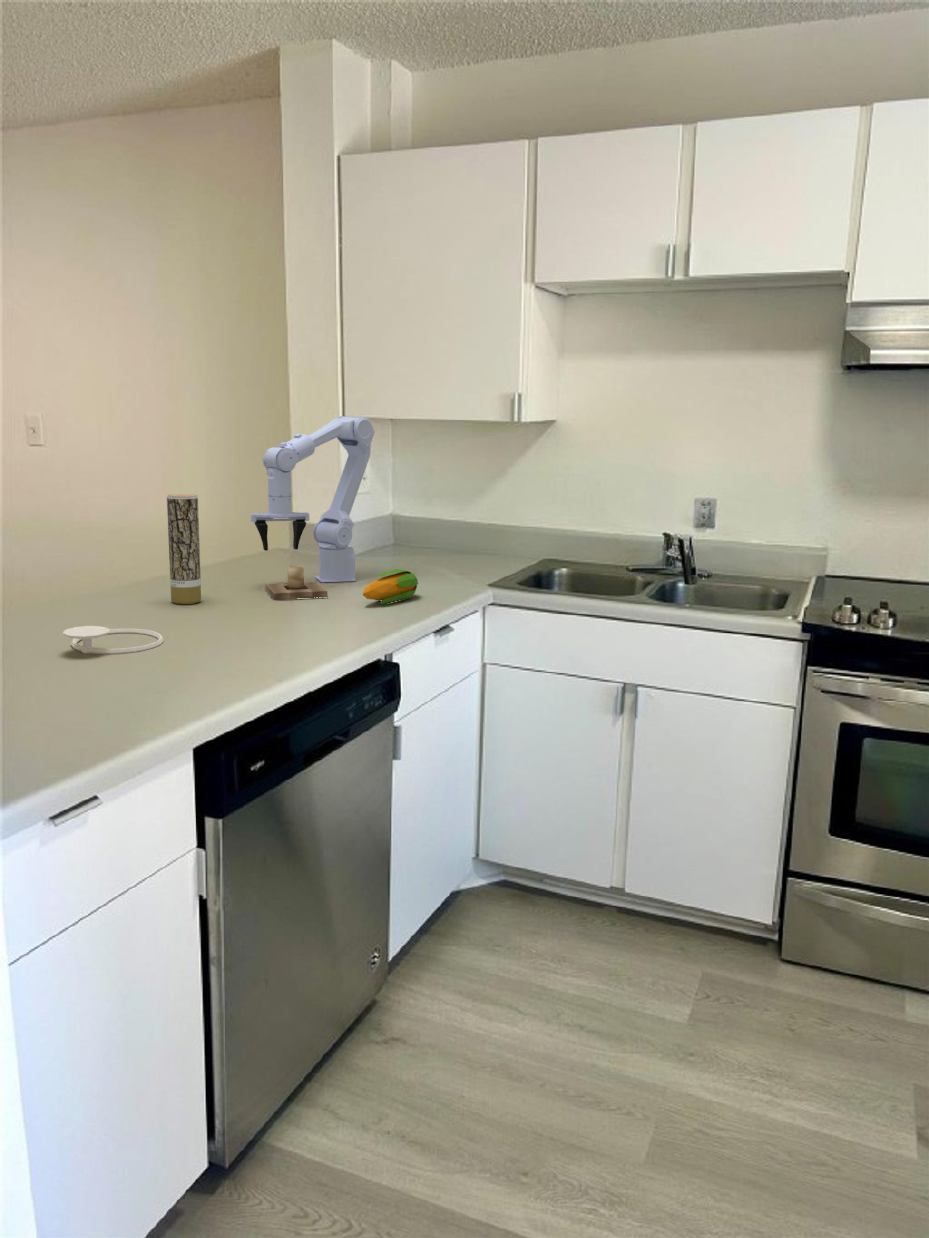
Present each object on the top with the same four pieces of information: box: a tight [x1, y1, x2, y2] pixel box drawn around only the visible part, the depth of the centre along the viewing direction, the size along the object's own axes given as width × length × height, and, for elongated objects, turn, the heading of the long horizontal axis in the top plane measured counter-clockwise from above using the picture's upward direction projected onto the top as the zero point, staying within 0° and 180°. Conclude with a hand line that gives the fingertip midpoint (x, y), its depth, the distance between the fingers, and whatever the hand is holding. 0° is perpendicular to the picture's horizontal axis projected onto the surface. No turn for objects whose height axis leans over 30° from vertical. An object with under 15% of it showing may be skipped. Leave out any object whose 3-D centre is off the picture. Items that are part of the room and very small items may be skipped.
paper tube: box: [166, 493, 202, 605], centre depth 212 cm, size 7×7×25 cm
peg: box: [286, 564, 305, 590], centre depth 227 cm, size 4×4×7 cm
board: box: [264, 581, 328, 601], centre depth 227 cm, size 13×12×2 cm
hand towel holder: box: [62, 625, 165, 655], centre depth 176 cm, size 17×4×21 cm
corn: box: [362, 568, 419, 605], centre depth 223 cm, size 7×8×20 cm
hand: (280, 549), depth 233 cm, fingers open, 7 cm apart
